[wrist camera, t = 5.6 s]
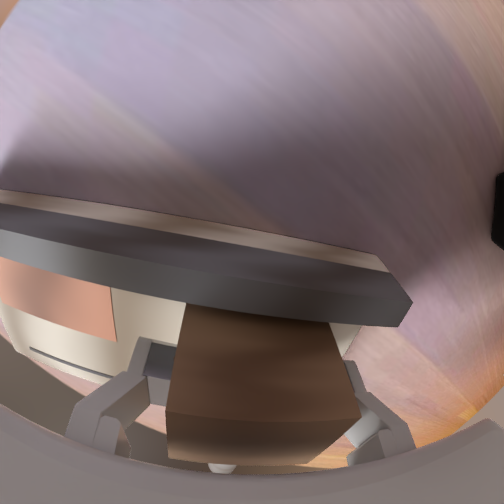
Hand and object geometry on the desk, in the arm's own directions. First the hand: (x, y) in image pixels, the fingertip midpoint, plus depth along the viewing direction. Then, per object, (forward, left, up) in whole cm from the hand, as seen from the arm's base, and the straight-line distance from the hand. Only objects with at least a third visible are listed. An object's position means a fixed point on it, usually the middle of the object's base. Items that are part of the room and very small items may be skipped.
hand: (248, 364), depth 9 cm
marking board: (+5, +2, -4) cm, 6 cm away
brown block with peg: (0, +3, -2) cm, 3 cm away
